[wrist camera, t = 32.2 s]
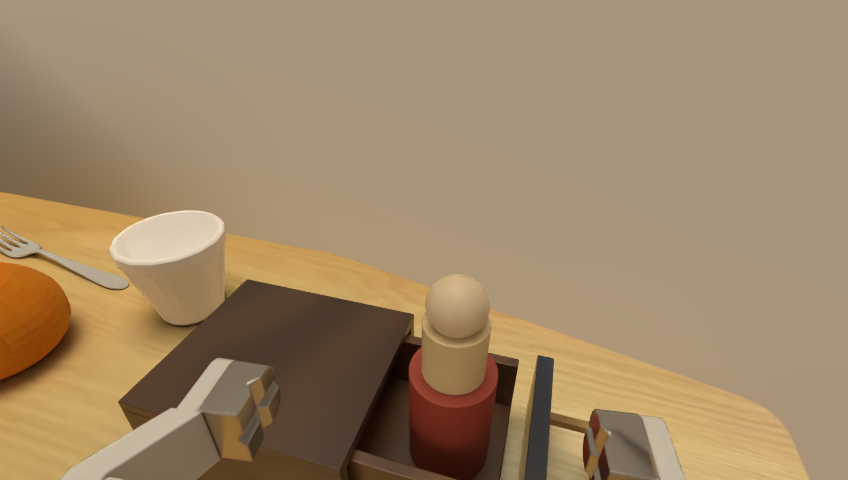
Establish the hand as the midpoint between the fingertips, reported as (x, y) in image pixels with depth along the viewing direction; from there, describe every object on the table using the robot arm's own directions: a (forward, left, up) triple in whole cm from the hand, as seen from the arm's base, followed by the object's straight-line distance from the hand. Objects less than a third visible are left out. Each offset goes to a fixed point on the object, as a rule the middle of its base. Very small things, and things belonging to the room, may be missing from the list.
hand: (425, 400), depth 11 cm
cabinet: (+3, -18, -22) cm, 29 cm away
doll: (-7, -10, -20) cm, 23 cm away
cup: (+10, -37, -22) cm, 44 cm away
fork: (+25, -52, -22) cm, 62 cm away
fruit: (+26, -37, -22) cm, 50 cm away
